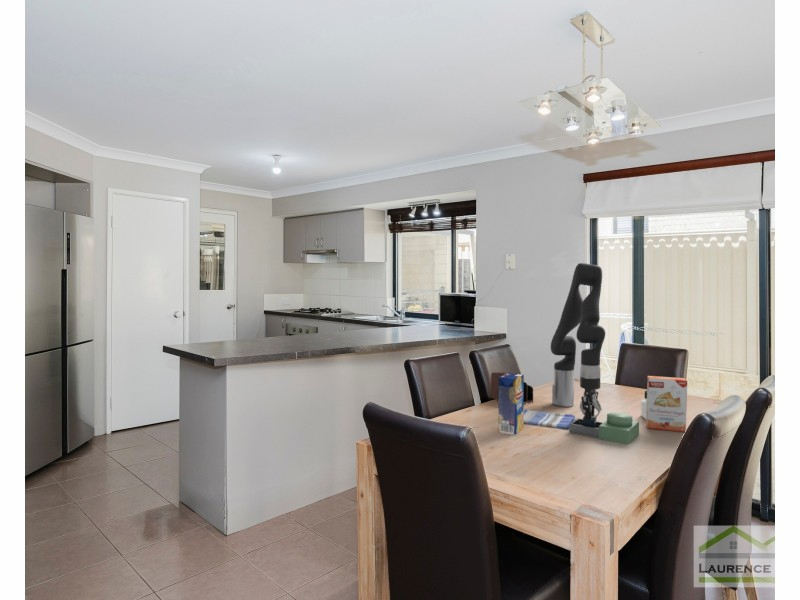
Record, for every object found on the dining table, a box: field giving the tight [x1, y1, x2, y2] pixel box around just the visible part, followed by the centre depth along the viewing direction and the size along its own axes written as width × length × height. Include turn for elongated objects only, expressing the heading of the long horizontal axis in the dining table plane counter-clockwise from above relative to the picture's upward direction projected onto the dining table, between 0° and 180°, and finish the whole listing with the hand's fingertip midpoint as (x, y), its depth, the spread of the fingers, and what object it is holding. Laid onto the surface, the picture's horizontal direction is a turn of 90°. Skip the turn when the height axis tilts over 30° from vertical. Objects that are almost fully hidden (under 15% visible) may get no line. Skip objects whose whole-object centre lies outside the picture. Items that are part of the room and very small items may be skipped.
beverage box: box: [497, 372, 525, 436], centre depth 204 cm, size 7×11×22 cm, turn 150°
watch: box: [579, 398, 603, 427], centre depth 201 cm, size 6×8×11 cm
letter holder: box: [489, 371, 534, 405], centre depth 256 cm, size 10×20×14 cm, turn 37°
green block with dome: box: [598, 412, 640, 445], centre depth 196 cm, size 11×16×8 cm
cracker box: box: [645, 375, 688, 433], centre depth 206 cm, size 14×6×21 cm, turn 69°
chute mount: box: [568, 417, 605, 439], centre depth 201 cm, size 12×10×4 cm
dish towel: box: [523, 408, 577, 430], centre depth 218 cm, size 17×24×3 cm
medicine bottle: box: [640, 390, 647, 421], centre depth 222 cm, size 7×7×12 cm
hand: (589, 418), depth 201 cm, fingers closed on watch, 3 cm apart
